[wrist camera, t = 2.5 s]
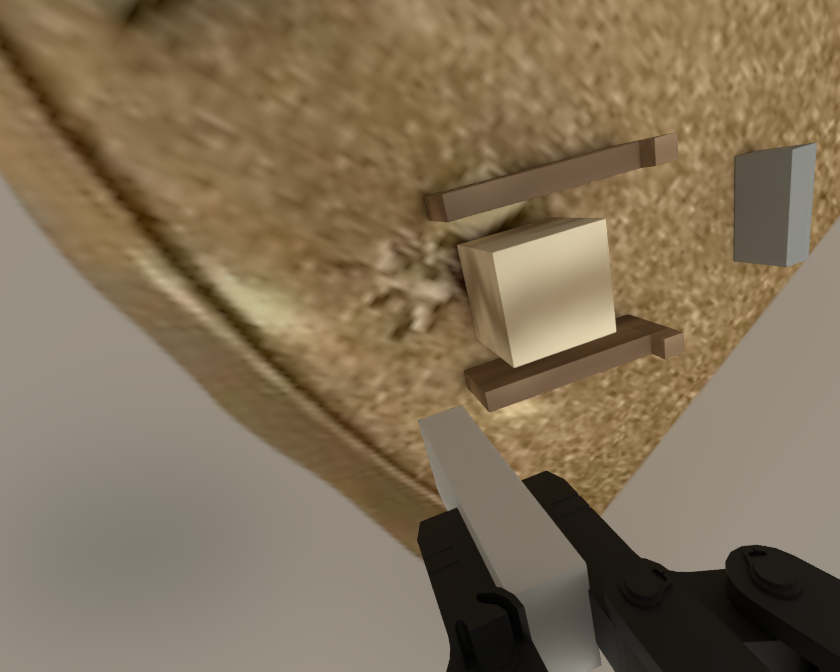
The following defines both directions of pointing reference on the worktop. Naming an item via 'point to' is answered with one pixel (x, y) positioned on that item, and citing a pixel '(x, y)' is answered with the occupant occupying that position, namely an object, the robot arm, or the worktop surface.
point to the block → (540, 287)
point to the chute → (633, 335)
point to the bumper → (774, 205)
